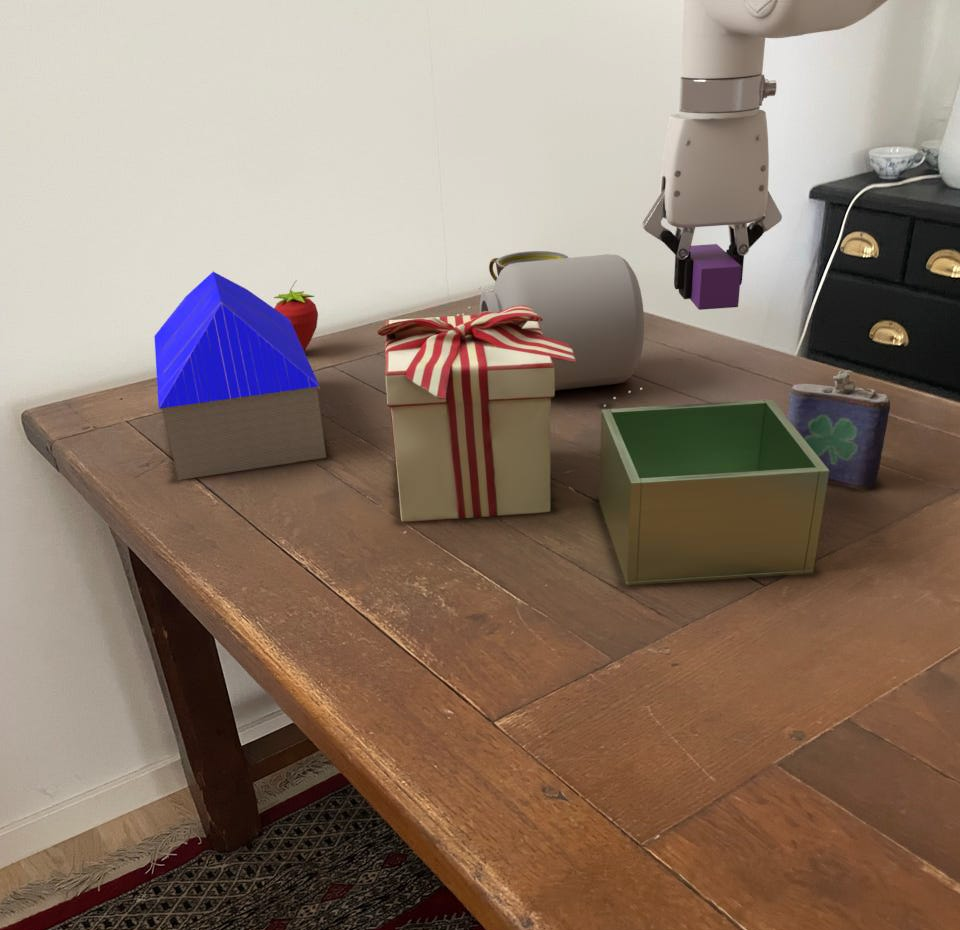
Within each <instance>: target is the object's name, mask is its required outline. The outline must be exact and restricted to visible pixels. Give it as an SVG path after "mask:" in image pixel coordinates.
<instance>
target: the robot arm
mask: <svg viewBox="0 0 960 930" xmlns="http://www.w3.org/2000/svg"><path fill="white" fill-rule="evenodd" d="M888 1H889V0H683V17H682V21H683V22H682V42H681V62H680V63H681V64H680V65H681V66H680V83H679V85H680V87H679V105H678V107H679V108H678V113H673V114H671V115H670V116H669V120H668V124H667V129H666V134H665V139H664V147H663V153H662V160H661V170H660V180H659V191H658V193H659V194H658V197H657V199H656V201H655V202H654V203H653V205H652V207H651V208H650V209H649V211H648V213H647V215H646V216H645V217H644V219H643V221H642V224H641V227H642V229H643V230H644V231H645V232H646V233H648V234H649V235H651V236H652V237H654V238H656V239H657V240H659V241H660V242H662V243H663V244H664V245H665V246H666V247H667V248H668V249H669V250H670V251H671V253H673V254H674V272H673V273H674V275H673V287H674V289H675V290H678V293H679V295H680V296H681V298H683V300H690V298H691V293H692V276H693V259H692V258H691V257H690V256H691V252H690V247H691V246H692V243H693V238H694V235H695V231H696V228H703V227H718V226H727V227H728V235H729V236H728V237H729V245H728V249H726V250H725V252H726V253H727V254H728V255H729V256H730V257H732V258H733V259H734V260H735V261H736V262H737V263H738V264H739V265H741V279H740V286H741V285H742V283H743V273H744V260H745V256H746V255H747V254H748V253H749V250H750V248H752V247H753V246H754V244H755V243H756V242H757V241H758V240H759V239H760V238H761V237H763V235H764V233H766V232H768V231H769V230H771V229H772V228H774V227H775V226H776V225H778V224H779V223H780V222H781V221H782V218H783V215H782V213H781V212H780V210H779V207H778V206H777V204H776V201H775V200H774V199H773V197H772V195H771V193H770V191H769V177H770V176H769V175H770V174H769V172H770V171H769V169H770V168H769V166H770V165H769V164H770V163H769V162H770V160H769V157H770V155H769V133H768V121H767V113H766V111H765V110H764V109H760V108H761V107H762V106H763V102H764V99H767V98H768V97H775V95H776V93H777V81H776V79H774V80H769V79H767V78H766V77H765V74H763V70H764V59H765V47H766V39H785V38H790V37H799V36H804V35H810V34H817V33H822V32H823V33H824V32H830V31H838V30H842V29H845V28H848V27H850V26H852V25H855V24H856V23H858V22H859V21H861V20H863V19H865V18H866V17H868V16H869V15H871V14H872V13H873V12H875V11H876V10H878V9H879V8H880V7H882V6H883V5H884V4H885V3H887V2H888ZM663 219H665V220H666V221H667V223H668V224H669V225H670V226H672V227H674V228H675V231H674V233H673V232H672V231H671V230H670V229H669V228H667V227H665V226H664V225H662V220H663Z"/></svg>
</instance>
